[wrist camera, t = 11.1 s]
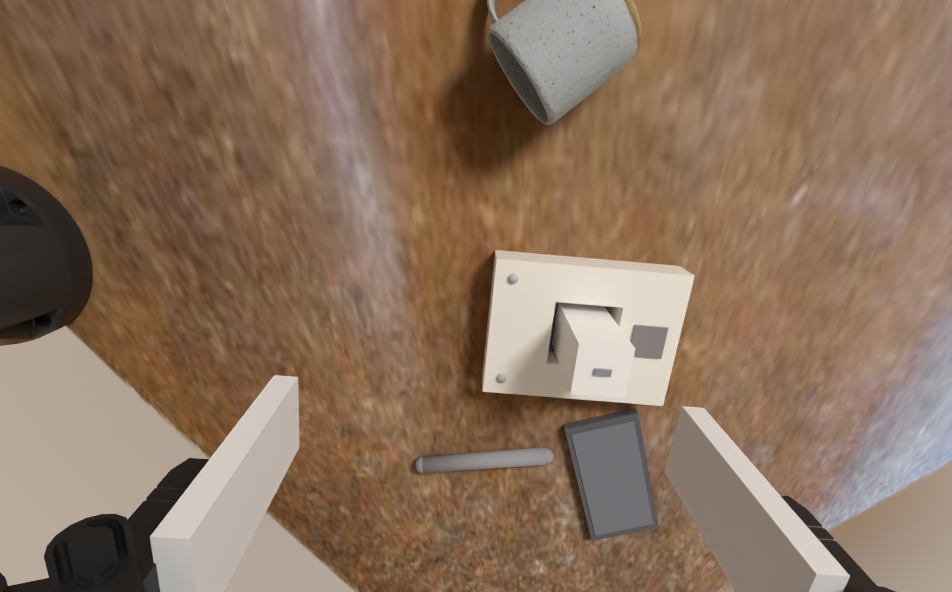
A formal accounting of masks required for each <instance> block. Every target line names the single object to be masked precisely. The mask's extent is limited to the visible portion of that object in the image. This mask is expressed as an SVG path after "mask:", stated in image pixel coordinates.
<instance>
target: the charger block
mask: <svg viewBox="0 0 952 592" xmlns="http://www.w3.org/2000/svg"><path fill="white" fill-rule="evenodd" d="M552 345H553V347H554V350H555V353H556V356H557V358H558V361H559V364H560V367H561V370H562V372H563V375H564V378H565V381H566V383H567V386H568V389H569V392H570V394H575V395H588V396H600V397H613V398H625V395H626V391H627V386H628V381H629V377H630V372H631V367H632V362H633V358H634V353H635V347H634V346H633V345H632V343H631V342H630V341H629V339H628V338H627V337H626V335H625V334H624V333H623V331H622V330H621V329H620V327H619V326H618V324H617V323H616V322H615V320H614V319H613V318H612V316H611V315H610V314H609V312H608V311H607V310H606V308H605V307H604V306H598V305H586V304H574V303H562V302H558V307H557V313H556V320H555V326H554V333H553V340H552Z"/></svg>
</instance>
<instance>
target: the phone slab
mask: <svg viewBox="0 0 952 592" xmlns="http://www.w3.org/2000/svg"><path fill="white" fill-rule="evenodd" d="M563 426H564V430H565V434H566V438H567V442H568V446H569V450H570V455H571V459H572V463H573V467H574V471H575V475H576V479H577V483H578V488H579V492H580V496H581V500H582V504H583V508H584V512H585V517H586V521H587V525H588V529H589V533H590V537H591V540H592V541H594V540H599V539H604V538H609V537H614V536H618V535H623V534H628V533H633V532H638V531H643V530H648V529H653V528H658V521H657V516H656V510H655V505H654V499H653V494H652V488H651V483H650V477H649V472H648V467H647V461H646V456H645V450H644V445H643V439H642V434H641V428H640V423H639V417H638V413H637V411H636V409H631V410H626V411H622V412H617V413H613V414H608V415H604V416H599V417H595V418H591V419H586V420H582V421H577V422H573V423H568V424H564V425H563Z"/></svg>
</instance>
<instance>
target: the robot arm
mask: <svg viewBox="0 0 952 592" xmlns="http://www.w3.org/2000/svg"><path fill="white" fill-rule="evenodd" d="M91 286H92V263H91V258H90V254H89V250H88V247H87V244H86V242H85V239H84V237H83V235H82V233H81V231H80V229H79V227H78V226H77V224H76V222H75V221H74V220H73V218H72V217H71V215H70V214H69V213H68V211H67V210H66V209H65V208H64V207H63V206H62V204H61V203H60V202H59V201H58V200H57V199H56V198H54V197H53V196H52V195H51V194H50V193H49V192H48V191H46V190H45V189H44V188H43V187H41V186H40V185H38V184H37V183H35V182H34V181H32V180H31V179H29V178H27V177H25V176H23V175H21V174H19V173H17V172H15V171H13V170H10V169H7V168H4V167H1V166H0V346H2V345H9V344H18V343H23V342H27V341H31V340H34V339H37V338H40V337H42V336H44V335H46V334H49V333H51V332H53V331H55V330H57V329H60V328H61V327H63V326H65V325H67V324H68V323H70V322H71V321H72V320H73V319H74V318H75V317H76V316H77V315H78V314H79V313H80V312H81V310H82V309H83V307H84V306H85V304H86V302H87V300H88V297H89V294H90V291H91ZM298 449H299V404H298V377H290V376H277V375H274V376H273V378H272V379H271V380H270V382H269V383H268V384H267V385H266V387H265V388H264V389H263V391H262V392H261V393H260V395H259V396H258V397H257V398H256V400H255V401H254V402H253V404H252V405H251V406H250V408H249V409H248V410H247V411H246V413H245V414H244V415H243V417H242V418H241V419H240V420H239V422H238V423H237V424H236V426H235V427H234V428H233V430H232V431H231V432H230V433H229V435H228V436H227V437H226V439H225V440H224V441H223V443H222V444H221V445H220V446H219V448H218V449H217V450H216V452H215V453H214V454H213V455H212V457H211V458H210V459H195V458H189V459H187V460H186V461H184V462H183V463H181V464H180V465H178V466H176V467H175V468H173V469H172V470H170V472H168V474H167V475H166V476H165V477H164V478H163V479H162V481H161V482H160V483H159V484H158V485H157V488H156V489H154V490H153V491H152V492H151V493H150V495H149V496H148V497H147V499H146V501H144V502H143V503H142V504H141V505H140V506H139V507H138V508H137V510H136V511H135V512H134V513H133V514H132V515H131V517H130V518H129V519H128V520H127V518H126V517H123V516H120V515H117V514H101V515H97V516H93V517H89V518H85V519H83V520H81V521H79V522H77V523H74V524H72V525H70V526H69V527H67V528H66V529H64V530H63V531H62V532H60V533H59V534H57V535H56V536H55V537H54V538H53V540H52V541H51V542H50V543H49V545H48V546H47V548H46V552H45V555H44V559H45V562H46V566H47V571H48V575H49V578H47V579H42V580H37V581H32V582H27V583H22V584H17V585H12V586H7V582H6V579H5V577H4V576H3V575H2V574H1V573H0V592H225V590H226V588H227V586H228V584H229V582H230V580H231V578H232V577H233V575H234V573H235V571H236V569H237V567H238V565H239V563H240V561H241V559H242V557H243V555H244V553H245V551H246V549H247V547H248V546H249V543H250V541H251V540H252V538H253V536H254V534H255V532H256V530H257V528H258V526H259V524H260V522H261V520H262V518H263V516H264V515H265V513H266V511H267V509H268V507H269V505H270V503H271V501H272V499H273V497H274V495H275V493H276V491H277V489H278V487H279V486H280V484H281V482H282V480H283V478H284V476H285V474H286V472H287V470H288V468H289V466H290V464H291V462H292V460H293V458H294V456H295V455H296V453H297V451H298ZM664 472H665V474H666V476H667V477H668V479H669V481H670V482H671V484H672V486H673V487H674V489H675V491H676V492H677V494H678V496H679V498H680V499H681V501H682V503H683V504H684V506H685V508H686V509H687V511H688V513H689V514H690V516H691V518H692V519H693V521H694V523H695V525H696V526H697V528H698V530H699V531H700V533H701V535H702V536H703V538H704V540H705V541H706V543H707V545H708V546H709V548H710V550H711V552H712V553H713V555H714V557H715V558H716V560H717V562H718V563H719V565H720V567H721V568H722V570H723V572H724V573H725V575H726V577H727V579H728V580H729V582H730V584H731V585H732V587H733V589H734V590H735V592H895V591H893V590H890V589H888V588H885V587H879V586H877V585H876V584H875V583H874V582H873V581H872V580H871V579H870V578H869V577H868V576H867V575H866V574H865V572H864V571H863V570H862V569H861V568H860V567H859V566H858V565H857V563H856V562H855V561H854V560H853V559H852V558H851V557H850V556H849V555H848V554H847V553H846V552H845V551H844V549H843V548H842V547H841V546H840V545H839V544H838V543H837V542H836V541H834V540H833V537H832V536H831V535H830V534H829V533H828V532H827V531H826V529H823V528H822V525H821V524H820V523H819V522H818V521H817V520H816V518H815V517H814V516H813V515H812V514H811V513H810V512H809V511H808V510H807V509H806V508H804V507H803V506H801V505H800V504H799V503H797V502H796V501H795V500H793V499H792V498H790V497H789V496H780V495H779V494H778V493H777V491H776V490H775V489H774V488H773V487H772V486H771V485H770V483H769V482H768V481H767V480H766V479H765V478H764V477H763V475H762V474H761V473H760V472H759V471H758V470H757V469H756V467H755V466H754V465H753V464H752V463H751V462H750V461H749V459H748V458H747V457H746V456H745V455H744V454H743V452H742V451H741V450H740V449H739V448H738V447H737V446H736V444H735V443H734V442H733V441H732V440H731V439H730V438H729V436H728V435H727V434H726V433H725V432H724V431H723V430H722V428H721V427H720V426H719V425H718V424H717V423H716V421H715V420H714V419H713V418H712V417H711V416H710V415H709V413H708V412H707V411H706V410H705V409H704V408H697V407H684V406H682V410H681V413H680V417H679V420H678V424H677V428H676V431H675V435H674V438H673V442H672V446H671V449H670V453H669V456H668V460H667V464H666V467H665V471H664Z"/></svg>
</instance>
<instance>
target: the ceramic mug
mask: <svg viewBox="0 0 952 592" xmlns="http://www.w3.org/2000/svg"><path fill="white" fill-rule="evenodd" d="M494 5H495V0H487V7H488V11H489V14H490V17H491V20H492V23H493V24H492V25H491V26H490V27H489V28H488V30H487V34H488V39H489V43H490V46H491V48H492V50H493V53H494V55H495V57H496V59H497V61H498V63H499V65H500V67H501V69H502V70H503V72H504V73H505V75H506V76H507V78H508V80H509V82H510V84H511V85H512V87H513V88H514V90H515V91H516V93H517V94H518V96H519V98H520V99H521V100H522V101H523V103H524V104H525V105H526V106H527V108H528V109H529V110H530V112H531V113H532V114H533V115H534V116H535V117H536V118H537V119H538V120H539V121H541V122H542V123H543V124H545V125H548V126H549V125H552V124H554V123H555V122H556V121H557V120H559V119H560V118H561V117H562V116H564V115H565V114H566V113H567V112H568V111H570V110H571V109H572V108H574V107H575V106H576V105H577V104H579V103H580V102H581V101H582V100H584V99H585V98H586V97H588V96H589V95H590V94H591V93H592V92H594V91H595V90H596V89H597V88H598V87H600V86H601V85H602V84H604V83H605V82H606V81H608V80H609V79H610V78H611V77H613V76H614V75H615V74H617V73H618V72H619V71H620V70H621V69H622V68H623V67H625V65H626V64H627V63H628V62H629V61H630V60H631V59H632V58H633V57H634V56H635V54H636V53H637V51H638V49H639V46H640V42H641V23H640V18H639V14H638V11H637V8H636V6H635V3H634V1H633V0H525V1H524V2H522V3H521V4H519V5H518V6H517V7H515V8H514V9H513V10H511V11H510V12H509V13H507V14H506V15H504V16H503V17H501V18H500V19H498V18H497V16H496V13H495V8H494Z"/></svg>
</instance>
